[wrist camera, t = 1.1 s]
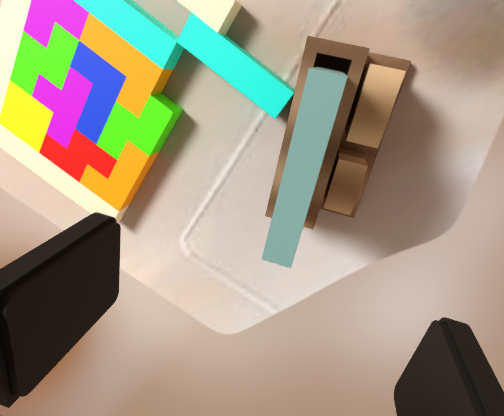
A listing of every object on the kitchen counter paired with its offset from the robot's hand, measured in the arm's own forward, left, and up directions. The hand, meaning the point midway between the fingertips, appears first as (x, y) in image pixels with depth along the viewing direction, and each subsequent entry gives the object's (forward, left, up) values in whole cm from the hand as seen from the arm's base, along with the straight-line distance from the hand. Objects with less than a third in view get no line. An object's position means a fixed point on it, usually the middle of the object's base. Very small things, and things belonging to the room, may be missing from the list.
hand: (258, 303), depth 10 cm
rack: (0, +2, -28) cm, 28 cm away
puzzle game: (+1, -21, -29) cm, 36 cm away
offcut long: (-4, +4, -27) cm, 28 cm away
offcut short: (+3, +4, -27) cm, 27 cm away
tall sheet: (0, 0, -27) cm, 27 cm away
